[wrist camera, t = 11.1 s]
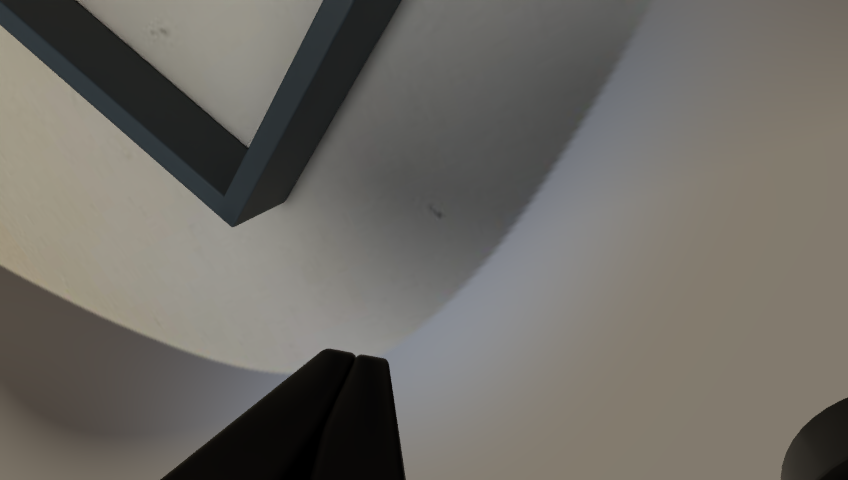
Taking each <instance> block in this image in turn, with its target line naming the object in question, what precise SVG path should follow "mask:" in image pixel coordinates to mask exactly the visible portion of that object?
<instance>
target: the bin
mask: <svg viewBox="0 0 848 480" xmlns="http://www.w3.org/2000/svg"><path fill="white" fill-rule="evenodd" d="M400 1H401V0H323V2H322V4H321V6H320V8H319V10H318V12H317V14H316V16H315V18H314V20H313V22H312V24H311V26H310V28H309V30H308V32H307V34H306V36H305V38H304V40H303V42H302V44H301V46H300V48H299V50H298V52H297V54H296V55H295V57H294V59H293V61H292V63H291V65H290V67H289V69H288V71H287V73H286V75H285V77H284V79H283V81H282V83H281V85H280V87H279V89H278V91H277V93H276V95H275V97H274V99H273V101H272V103H271V105H270V107H269V109H268V111H267V113H266V115H265V117H264V119H263V121H262V123H261V125H260V127H259V129H258V131H257V133H256V135H255V137H254V139H253V141H252V143H251V145H250V146H249V148H248V149H247V148H245V147H244V146H243V145H242V144H241V143H240V142H238V141H237V140H236V139H235V138H234V137H233V136H231V135H230V134H229V133H228V132H227V131H226V130H224V129H223V128H222V127H221V126H220V125H219V124H218V123H216V122H215V121H214V120H213V119H212V118H211V117H209V116H208V115H207V114H206V113H205V112H204V111H202V110H201V109H200V108H199V107H198V106H197V105H195V104H194V103H193V102H192V101H191V100H190V99H188V98H187V97H186V96H185V95H184V94H183V93H181V92H180V91H179V90H178V89H177V88H176V87H174V86H173V85H172V84H171V83H170V82H169V81H167V80H166V79H165V78H164V77H163V76H162V75H160V74H159V73H158V72H157V71H156V70H155V69H153V68H152V67H151V66H150V65H149V64H148V63H147V62H145V61H144V60H143V59H142V58H141V57H140V56H138V55H137V54H136V53H135V52H134V51H133V50H131V49H130V48H129V47H128V46H127V45H126V44H124V43H123V42H122V41H121V40H120V39H119V38H117V37H116V36H115V35H114V34H113V33H112V32H110V31H109V30H108V29H107V28H106V27H105V26H103V25H102V24H101V23H100V22H99V21H98V20H96V19H95V18H94V17H93V16H92V15H91V14H89V13H88V12H87V11H86V10H85V9H84V8H83V7H81V6H80V5H79V4H78V3H77V2H76V1H74V0H0V25H1V26H2V27H3V28H5V29H6V30H7V31H8V32H9V33H10V34H11V35H13V36H14V37H15V38H16V39H17V40H18V41H19V42H21V43H22V44H23V45H24V46H25V47H26V48H27V49H29V50H30V51H31V52H32V53H33V54H34V55H35V56H37V57H38V58H39V59H40V60H41V61H42V62H43V63H45V64H46V65H47V66H48V67H49V68H50V69H51V70H53V71H54V72H55V73H56V74H57V75H58V76H59V77H61V78H62V79H63V80H64V81H65V82H66V83H67V84H69V85H70V86H71V87H72V88H73V89H74V90H75V91H77V92H78V93H79V94H80V95H81V96H82V97H83V98H85V99H86V100H87V101H88V102H89V103H90V104H91V105H93V106H94V107H95V108H96V109H97V110H98V111H99V112H101V113H102V114H103V115H104V116H105V117H106V118H107V119H109V120H110V121H111V122H112V123H113V124H114V125H115V126H117V127H118V128H119V129H120V130H121V131H122V132H123V133H125V134H126V135H127V136H128V137H129V138H130V139H132V140H133V141H134V142H135V143H136V144H137V145H138V146H140V147H141V148H142V149H143V150H144V151H145V152H146V153H148V154H149V155H150V156H151V157H152V158H153V159H154V160H156V161H157V162H158V163H159V164H160V165H161V166H162V167H164V168H165V169H166V170H167V171H168V172H169V173H170V174H172V175H173V176H174V177H175V178H176V179H177V180H178V181H180V182H181V183H182V184H183V185H184V186H185V187H186V188H188V189H189V190H190V191H191V192H192V193H193V194H194V195H196V196H197V197H198V198H199V199H200V200H201V201H202V202H204V203H205V204H206V205H207V206H208V207H209V208H210V209H212V210H213V211H214V212H215V213H216V214H217V215H218V216H220V217H221V218H222V219H223V220H224V221H225V222H226V223H228V224H229V225H230V226H231V227H235V226H237V225H239V224H241V223H243V222H245V221H247V220H249V219H251V218H253V217H255V216H257V215H259V214H261V213H263V212H265V211H267V210H269V209H271V208H273V207H275V206H277V205H279V204H281V203H283V202H284V201H285V200H286V198H287V196H288V194H289V193H290V191H291V189H292V187H293V186H294V184H295V182H296V180H297V179H298V177H299V175H300V174H301V172H302V170H303V168H304V167H305V165H306V163H307V162H308V160H309V158H310V156H311V155H312V153H313V151H314V149H315V148H316V146H317V144H318V143H319V141H320V139H321V137H322V136H323V134H324V132H325V130H326V129H327V127H328V125H329V124H330V122H331V120H332V118H333V117H334V115H335V113H336V112H337V110H338V108H339V106H340V105H341V103H342V101H343V99H344V98H345V96H346V94H347V93H348V91H349V89H350V87H351V86H352V84H353V82H354V80H355V79H356V77H357V75H358V74H359V72H360V70H361V68H362V67H363V65H364V63H365V61H366V60H367V58H368V56H369V55H370V53H371V51H372V49H373V48H374V46H375V44H376V43H377V41H378V39H379V37H380V36H381V34H382V32H383V30H384V29H385V27H386V25H387V24H388V22H389V20H390V18H391V17H392V15H393V13H394V11H395V10H396V8H397V6H398V5H399V3H400Z"/></svg>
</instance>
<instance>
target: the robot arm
mask: <svg viewBox="0 0 848 480" xmlns="http://www.w3.org/2000/svg"><path fill="white" fill-rule="evenodd" d="M161 480H406V478H405V472H404V465H403V458H402V451H401V444H400V437H399V431H398V424H397V417H396V410H395V403H394V396H393V390H392V383H391V376H390V369H389V364H388V361H387V360H386V359H384V358H379V357H373V356H368V355H359V356H357V357H356V356H355V355H354V354H353V353H351V352H345V351H340V350H334V349H325V350H323V351H321V352H320V353H319V354H317V355H316V356H315V357H314V358H312V359H311V360H310V361H309V362H307V363H306V364H305V365H304V366H302V367H301V368H300V369H299V370H297V371H296V372H295V373H294V374H292V375H291V376H290V377H288V378H287V379H286V380H285V381H283V382H282V383H281V384H280V385H279V386H277V387H276V388H275V389H274V390H272V391H271V392H270V393H268V394H267V395H266V396H265V397H263V398H262V399H261V400H260V401H258V402H257V403H256V404H255V405H253V406H252V407H251V408H250V409H248V410H247V411H246V412H245V413H243V414H242V415H241V416H240V417H238V418H237V419H236V420H235V421H233V422H232V423H231V424H230V425H228V426H227V427H226V428H225V429H223V430H222V431H221V432H220V433H218V434H217V435H216V436H215V437H213V438H212V439H211V440H210V441H208V442H207V443H206V444H205V445H203V446H202V447H201V448H200V449H198V450H197V451H196V452H195V453H193V454H192V455H191V456H190V457H188V458H187V459H186V460H185V461H183V462H182V463H181V464H179V465H178V466H177V467H176V468H174V469H173V470H172V471H171V472H169V473H168V474H167V475H166V476H164V477H163V478H162V479H161Z"/></svg>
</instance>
